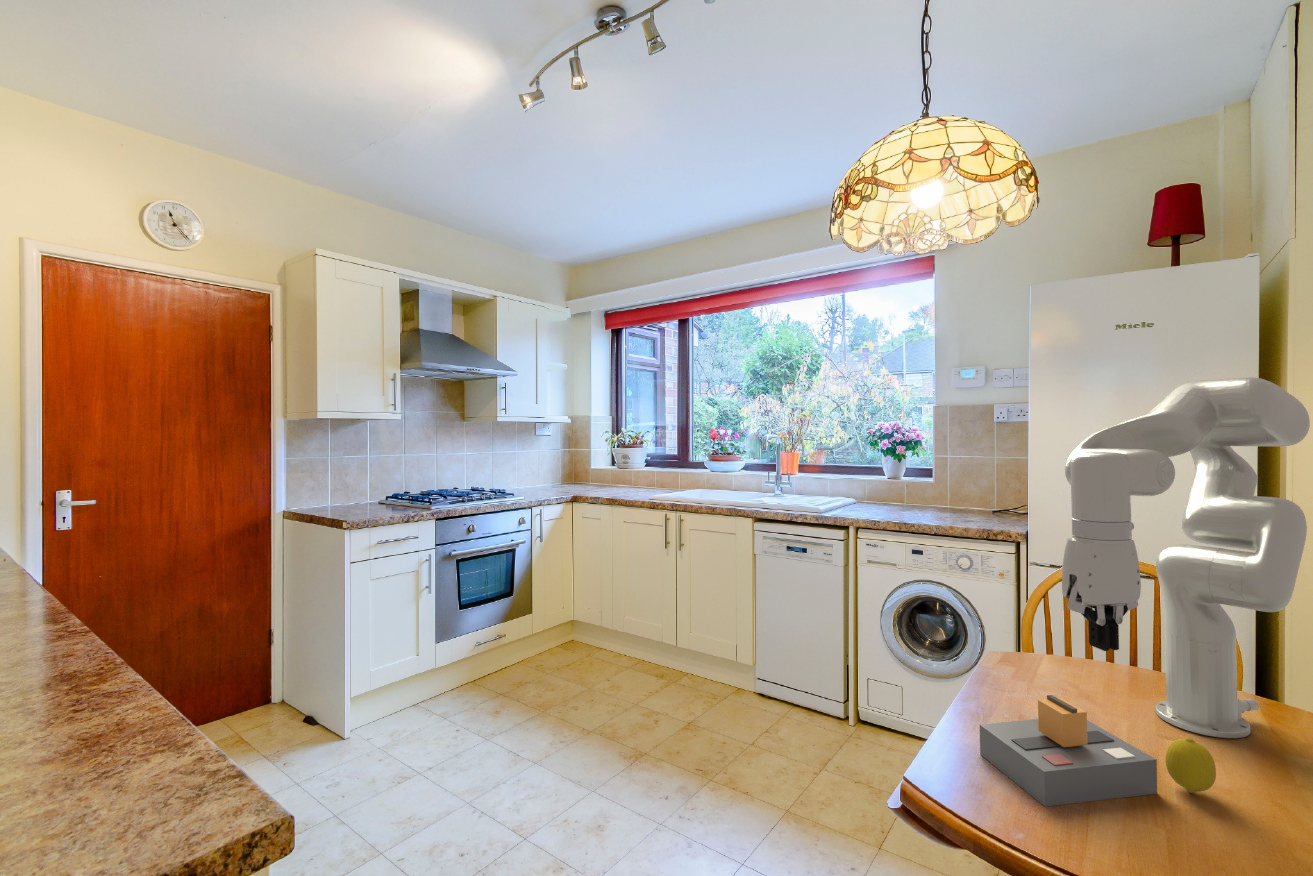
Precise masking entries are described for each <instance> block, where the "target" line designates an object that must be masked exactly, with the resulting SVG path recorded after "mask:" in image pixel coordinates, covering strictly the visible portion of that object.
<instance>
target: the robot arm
mask: <svg viewBox="0 0 1313 876" xmlns="http://www.w3.org/2000/svg"><path fill="white" fill-rule="evenodd" d="M1310 423H1311V421H1310V414H1309V412H1308V410H1307V409H1306V406H1305V405H1304V404H1303V402H1301V401H1300V400H1299V399H1298V398H1297V397H1295V396H1294V395H1292V394H1291V393H1290V392H1287V391H1286V390H1285V389H1284V388H1282V387H1281V386H1279V385H1277V384H1275V383H1274V382H1272V381H1269V380H1266V379H1264V378H1261V377H1253V376H1252V377H1251V376H1250V377H1236V378H1235V377H1234V378H1233V377H1232V378H1219V379H1207V380H1206V379H1205V380H1196V381H1191V382H1187V383H1183V384H1180V385H1179V386H1177V387H1175V388H1174V389H1173V390H1172V391H1170V393H1169V394H1168V395H1166V397H1165V398H1163V399H1162V400H1161V401H1160V402H1159V403H1158V404H1157V405H1155V407H1153V408H1152V409H1151V410H1150V411H1148V412H1147V414H1144V415H1140V416H1137V417H1134V418H1132V419H1129V420H1126V421H1124V422H1120V423H1118V424H1115V425H1112V426H1108V427H1107V428H1104V429H1101V430H1098V431H1097V432H1095V433H1092V434H1091V435H1090V436H1088V437H1086V438H1084V440H1083V441H1082V442H1081V443H1080V444H1078V445H1077V446H1076V447H1075V448H1074V450H1073V451H1072V452H1071V453H1070V455H1069V456H1068V458H1067V460H1066V463H1065V466H1064V467H1065V468H1064V474H1065V478H1066V481H1067V482H1068V484H1069V485H1070V494H1071V495H1070V496H1071V497H1070V498H1071V503H1070V504H1071V537H1069V538H1067V540H1066V544H1065V547H1064V552H1063V560H1062V572H1061V573H1062V574H1061V575H1062V576H1061V593H1062V596H1063V597H1064V598H1065V599H1067V600H1068V601H1067V607H1066V608H1067V610H1069V611H1071V612H1075V613H1078V614H1081V615H1082V616H1083V619H1084V620H1085V621H1087V622H1088V643H1089V646H1091V647H1093V648H1096V649H1098V650H1101V651H1104V652H1109V651H1110V650H1113V651H1119V650H1120V640H1119V639H1120V638H1119V637H1120V634H1119V633H1120V631H1119V628H1120V627H1119V625H1121V624H1122V623H1123V621H1124V616H1125V615H1126V614H1127V613H1128V612H1129V611H1130V610H1133V609H1136V608H1138V606H1139V602H1138V601H1139V600H1140V598H1141V591H1142V584H1141V582H1142V581H1141V571H1140V563H1139V556H1138V552H1137V548H1136V543H1135V540H1133V538H1132V531H1133V530H1134V529H1135V524H1134V523H1133V522H1132V499H1131V498H1132V497H1155V496H1158V495H1161V494H1164V493H1165V492H1166V491H1168V490H1169V489H1170V487H1172V485H1173V483H1174V481H1175V478H1176V468H1175V465H1174V463H1173V462H1172V460H1171V458H1172V457H1176V456H1180V455H1184V454H1186V453H1188V452H1189V453H1190V455H1191V458H1192V460H1193V465H1194V468H1195V469H1194V470H1195V473H1194V477H1193V481H1192V484H1191V488H1190V491H1189V494H1188V498H1187V501H1186V504H1185V507H1184V511H1183V515H1182V521H1181V529H1182V533H1183V534H1184V535H1185V536H1186V537H1187V538H1189V540H1192V541H1193V542H1196V543H1200V544H1205V545H1208V546H1204V545H1197V544H1175V545H1171V546H1168V547H1165V548H1164V549H1163V550H1161V551H1160V553H1159V554H1158V556H1157V559H1156V562H1155V563H1156V564H1155V565H1156V566H1155V567H1156V568H1155V569H1156V575H1157V579H1158V583H1159V587H1160V592H1161V597H1162V602H1163V603H1162V604H1163V616H1164V652H1165V654H1164V655H1165V656H1164V657H1165V658H1164V659H1165V697H1166V698H1165V700H1161V701H1159V702H1157V703H1155V713H1156V715H1157V716H1159V718H1160V719H1162V720H1163V721H1165V722H1166V723H1169V724H1171V725H1172V726H1175V727H1177V728H1180V729H1183V730H1185V731H1188V732H1191V733H1196V734H1199V735H1203V736H1209V737H1213V738H1221V739H1222V738H1223V739H1240V738H1241V739H1242V738H1245V737H1247V736H1249V735H1250V734H1251V725H1250V723H1249V722H1248V721H1247V720H1246V719H1245V718H1243V716H1242V715H1243V714H1244V713H1245V712H1250V711H1251V712H1252V711H1259V709H1260V705H1259V702H1257V700H1256V699H1254V698H1242V699H1238V670H1237V669H1238V667H1237V666H1238V665H1237V664H1238V663H1237V632H1236V628H1235V625H1234V623H1233V621H1232V618H1231V617H1230V615H1229V614H1228V613H1227V612H1226V610H1225V609H1224V608H1223V607H1222V605H1225V606H1230V607H1235V608H1240V609H1247V610H1250V611H1251V610H1252V611H1253V610H1254V611H1259V612H1265V613H1276V612H1280V611H1282V610H1284V609H1285V608H1287V606H1288V605H1289V603H1290V601H1291V599H1292V597H1293V593H1294V589H1295V587H1296V586H1295V585H1296V582H1297V579H1298V578H1297V577H1298V574H1299V569H1300V565H1301V562H1302V557H1303V553H1304V550H1305V545H1306V540H1307V535H1308V534H1307V532H1308V530H1307V529H1308V527H1307V520H1306V519H1307V518H1306V515H1305V513H1304V511H1303V510H1302V508H1301V507H1300V506H1299V505H1298V504H1297V503H1295V502H1294V501H1292V500H1289V499H1285V498H1281V497H1273V496H1257V495H1255V492H1256V489H1257V485H1258V475H1257V472H1256V471H1255V469H1254V468H1253V467H1252V466H1251V465H1250V463H1249V462H1247V460H1246V459H1245V458H1243V457H1242V456H1240V455H1239V453H1237V452H1236V451H1235V450H1234V449H1233V448H1232V447H1290V446H1294V445H1297V444H1299V443H1300V442H1302V441H1303V440H1305V437H1306V436H1307V435H1308V434H1309V430H1310V426H1311V425H1310ZM1131 496H1132V497H1131ZM1209 545H1211V546H1209ZM1214 546H1216V547H1214ZM1222 547H1223V548H1222ZM1224 547H1225V548H1224ZM1227 548H1233V549H1227ZM1235 549H1240V550H1235ZM1242 550H1243V551H1242ZM1245 550H1247V551H1245ZM1248 550H1249V551H1248ZM1250 551H1255V552H1250Z"/></svg>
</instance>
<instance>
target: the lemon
mask: <svg viewBox="0 0 1313 876" xmlns="http://www.w3.org/2000/svg"><path fill="white" fill-rule="evenodd" d="M1164 759H1165V762H1164V763H1165V767H1166V770H1167V772H1168V774H1169V776H1170V777H1171V778H1172V780H1173V781H1174V782H1175V783H1176V784H1178V785H1179V786H1180V787H1182V788H1184V790H1186V791H1187V793H1190V794H1195V793H1198V792H1205V791H1207V790H1209V789H1210V788H1211V787H1213V785H1215V781H1216V779H1217V770H1216V763H1215V761H1214V757H1213V755H1212V754H1211V753H1210V751H1209V750H1208V749H1207V748H1206V747H1205V746H1204V745H1203V744H1201V743H1200V742H1198V741H1196V740H1194V739H1193V738H1192V737H1186V738H1177V739H1174V740H1173V741H1171V742H1170V743H1169V745H1168V746H1167V749H1166V751H1165V758H1164Z"/></svg>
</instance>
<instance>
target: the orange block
mask: <svg viewBox="0 0 1313 876" xmlns="http://www.w3.org/2000/svg"><path fill="white" fill-rule="evenodd" d="M1087 712H1088V711H1086V710H1084V709H1083V708H1080V707H1078V706H1077V705H1075V704H1073V703H1071V702H1069V701H1068V700H1066V699H1064V698H1062V697H1056V696H1055V695H1052V694H1047V695H1046V698H1043V699H1037V713H1038V714H1037V716H1038V717H1037V719H1038V726H1039V732H1041V733H1042V734H1044V735H1046V736H1047V737H1049V738H1050V739H1052V740H1053V741H1055V742H1056V743H1058V744H1059V745H1061V746H1062V747H1070V746H1080V745H1087V720H1088V715H1087V714H1088V713H1087Z"/></svg>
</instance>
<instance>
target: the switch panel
mask: <svg viewBox="0 0 1313 876" xmlns="http://www.w3.org/2000/svg"><path fill="white" fill-rule="evenodd" d="M979 746H980V747H979V753H980V754H979V755H980V756H981V757H983V758H984V759H985V760H986V761H988V763H991V764H992V765H993V766H994V768H996V769H998V771H1000V772H1002V774H1004V775H1005V776H1006V777H1007V778H1009V779H1010V780H1011V781H1013V782H1014V783H1015V784H1016V785H1017V786H1019V787H1020V788H1021V789H1023V791H1025V792H1026V793H1027V794H1028V795H1030V796H1031V797H1033V798H1034V799H1035V800H1036V801H1038V803H1039V804H1041V805H1043V806H1044V807H1053V806H1062V805H1069V804H1079V803H1087V802H1094V801H1104V800H1112V799H1114V800H1115V799H1121V798H1129V797H1131V798H1132V797H1138V796H1146V795H1155V794H1156V795H1157V794H1158V767H1157V766H1158V764H1157V763H1158V761H1157V759H1156V758H1155V757H1153V756H1152V755H1149V754H1148V753H1146V752H1145V751H1142V750H1140V749H1139V748H1137V747H1136V746H1134V745H1132V744H1130V743H1128V742H1127V741H1126V740H1123V739H1122V738H1120V737H1119V736H1116V735H1115V734H1112V733H1111V732H1109V731H1107V730H1105V729H1103V728H1102V727H1100V726H1098V725H1096V724H1095V723H1093V722H1091V721H1090V720H1088V719H1087V745H1080V746H1070V747H1062V746H1061V745H1059V744H1058V743H1056V742H1055V741H1053V740H1052V739H1050V738H1049V737H1047V736H1046V735H1044V734H1042V733H1041V732H1039V726H1038V718H1035V719H1023V720H1013V721H1004V722H994V723H993V722H991V723H982V724H981V723H980V724H979Z"/></svg>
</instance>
